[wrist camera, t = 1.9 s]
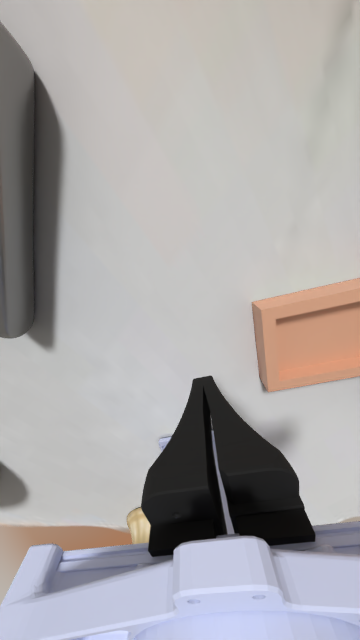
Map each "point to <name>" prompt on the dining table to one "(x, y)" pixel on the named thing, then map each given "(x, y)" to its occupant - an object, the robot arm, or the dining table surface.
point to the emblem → (16, 188)
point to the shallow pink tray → (308, 336)
